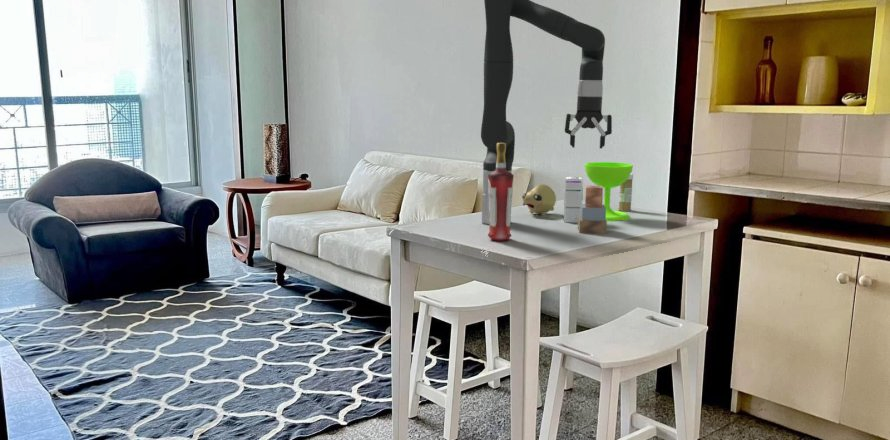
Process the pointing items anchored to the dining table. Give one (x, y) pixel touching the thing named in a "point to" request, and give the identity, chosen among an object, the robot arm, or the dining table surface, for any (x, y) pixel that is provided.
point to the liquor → (500, 198)
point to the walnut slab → (591, 226)
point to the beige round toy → (540, 199)
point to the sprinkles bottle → (625, 195)
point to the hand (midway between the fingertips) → (587, 147)
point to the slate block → (593, 213)
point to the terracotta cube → (594, 196)
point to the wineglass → (609, 182)
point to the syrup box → (573, 199)
